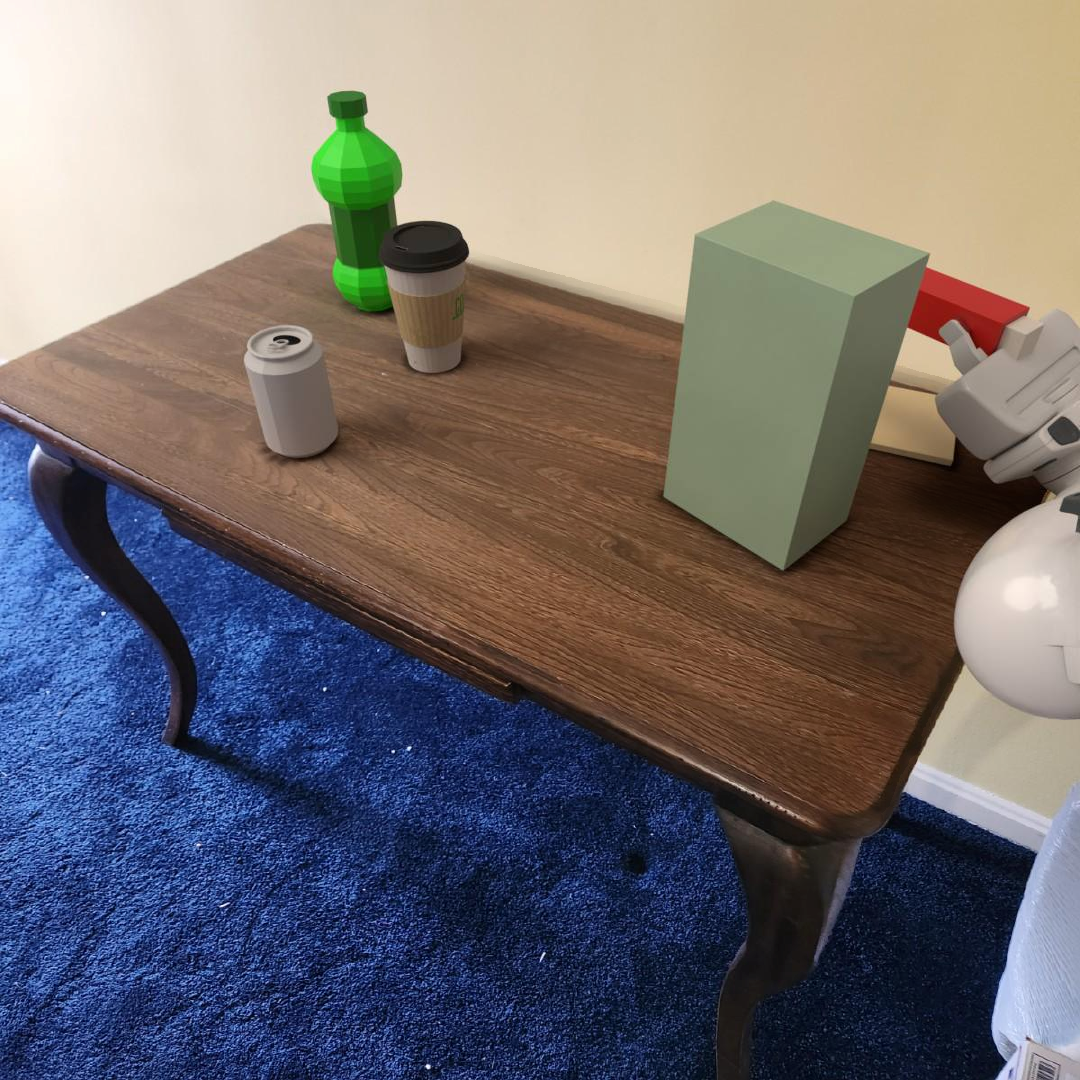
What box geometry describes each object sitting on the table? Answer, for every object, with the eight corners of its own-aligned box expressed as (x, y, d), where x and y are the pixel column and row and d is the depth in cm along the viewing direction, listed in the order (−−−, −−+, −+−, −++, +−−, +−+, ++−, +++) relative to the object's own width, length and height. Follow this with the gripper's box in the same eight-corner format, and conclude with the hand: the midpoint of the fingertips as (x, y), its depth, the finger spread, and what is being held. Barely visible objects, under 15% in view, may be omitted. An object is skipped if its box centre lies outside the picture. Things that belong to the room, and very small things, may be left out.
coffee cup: (492, 352, 103) (486, 230, 93) (442, 390, 97) (430, 263, 87) (427, 331, 107) (415, 211, 97) (376, 366, 101) (357, 242, 91)
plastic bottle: (399, 278, 118) (375, 78, 101) (425, 311, 111) (404, 102, 94) (327, 293, 115) (291, 89, 98) (350, 327, 108) (314, 114, 91)
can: (352, 428, 92) (333, 326, 84) (317, 468, 87) (293, 364, 79) (291, 415, 94) (267, 314, 86) (252, 454, 88) (223, 351, 80)
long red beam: (1035, 355, 78) (1052, 315, 76) (1007, 372, 76) (1024, 332, 74) (823, 266, 92) (831, 229, 90) (795, 278, 90) (802, 241, 88)
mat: (956, 405, 95) (959, 399, 94) (950, 466, 86) (953, 460, 86) (775, 369, 100) (776, 363, 100) (753, 423, 92) (754, 417, 92)
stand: (846, 520, 80) (930, 253, 63) (783, 571, 75) (855, 296, 58) (728, 454, 88) (773, 200, 71) (663, 496, 83) (694, 234, 66)
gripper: (1141, 367, 80) (1042, 256, 82) (1044, 456, 70) (933, 327, 72) (1082, 403, 85) (990, 298, 87) (984, 491, 75) (882, 370, 77)
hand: (963, 311), depth 79 cm, fingers closed on long red beam, 5 cm apart
